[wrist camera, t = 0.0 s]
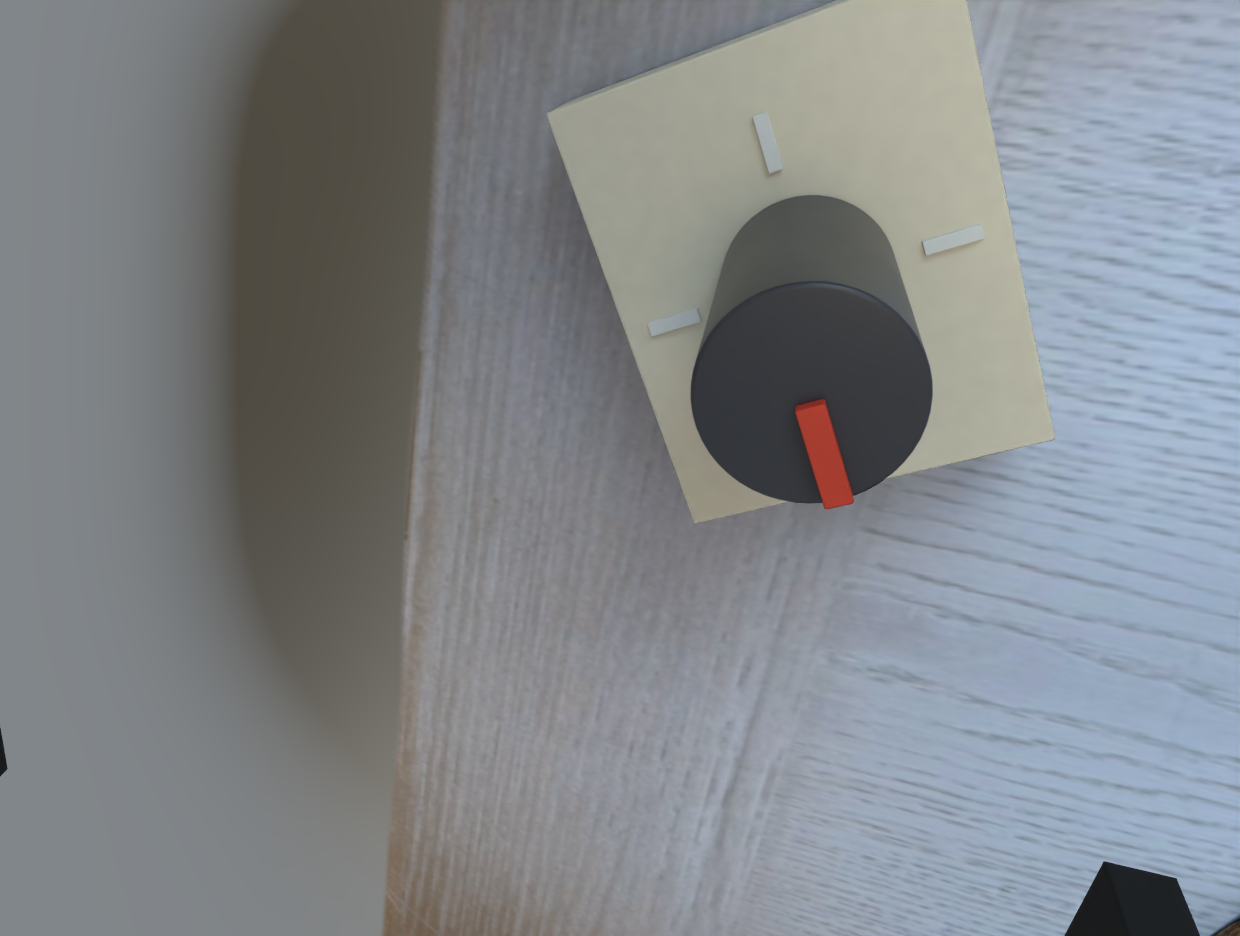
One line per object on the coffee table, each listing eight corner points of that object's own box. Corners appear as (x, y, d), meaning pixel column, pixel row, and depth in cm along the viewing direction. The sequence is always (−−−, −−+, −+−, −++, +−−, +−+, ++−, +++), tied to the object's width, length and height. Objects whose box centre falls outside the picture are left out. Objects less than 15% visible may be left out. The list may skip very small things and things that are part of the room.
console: (570, 100, 28) (543, 114, 25) (942, -40, 25) (959, -42, 22) (703, 479, 32) (693, 527, 29) (1033, 398, 29) (1057, 442, 26)
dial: (699, 226, 25) (656, 327, 18) (873, 170, 24) (903, 254, 17) (749, 382, 27) (728, 534, 20) (914, 337, 26) (958, 482, 18)
